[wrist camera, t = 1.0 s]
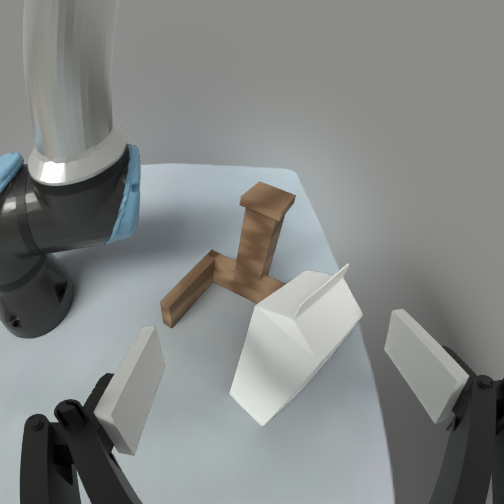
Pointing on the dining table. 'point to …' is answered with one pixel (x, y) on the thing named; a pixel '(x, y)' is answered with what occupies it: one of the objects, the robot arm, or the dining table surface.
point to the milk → (292, 340)
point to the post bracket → (238, 256)
